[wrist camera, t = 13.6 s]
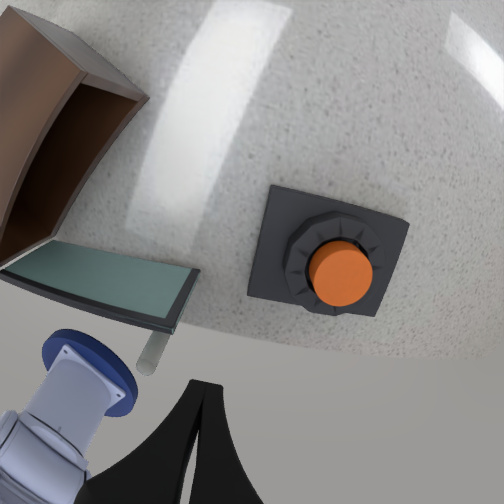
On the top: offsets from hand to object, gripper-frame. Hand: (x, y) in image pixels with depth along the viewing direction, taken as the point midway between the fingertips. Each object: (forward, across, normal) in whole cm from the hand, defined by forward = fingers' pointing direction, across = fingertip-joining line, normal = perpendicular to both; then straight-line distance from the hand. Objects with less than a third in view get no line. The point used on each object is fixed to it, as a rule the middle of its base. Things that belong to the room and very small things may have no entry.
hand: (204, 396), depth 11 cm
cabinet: (+10, +16, -10) cm, 22 cm away
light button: (+8, -6, -4) cm, 11 cm away
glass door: (+9, +8, +1) cm, 12 cm away
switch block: (+10, -6, -4) cm, 13 cm away
